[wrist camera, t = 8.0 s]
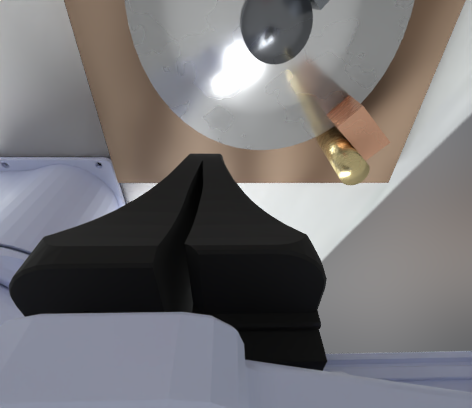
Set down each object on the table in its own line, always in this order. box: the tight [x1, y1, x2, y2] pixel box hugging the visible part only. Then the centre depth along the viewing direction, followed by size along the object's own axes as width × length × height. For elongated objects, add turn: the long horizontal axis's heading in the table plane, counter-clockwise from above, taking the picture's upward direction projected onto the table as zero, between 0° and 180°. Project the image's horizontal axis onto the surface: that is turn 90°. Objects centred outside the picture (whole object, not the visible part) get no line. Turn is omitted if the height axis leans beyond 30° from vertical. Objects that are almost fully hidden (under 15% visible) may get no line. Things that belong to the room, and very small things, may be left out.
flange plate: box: [125, 0, 415, 161], centre depth 13 cm, size 16×16×4 cm
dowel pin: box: [316, 126, 370, 185], centre depth 17 cm, size 2×2×5 cm
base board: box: [64, 0, 466, 183], centre depth 15 cm, size 21×21×2 cm
